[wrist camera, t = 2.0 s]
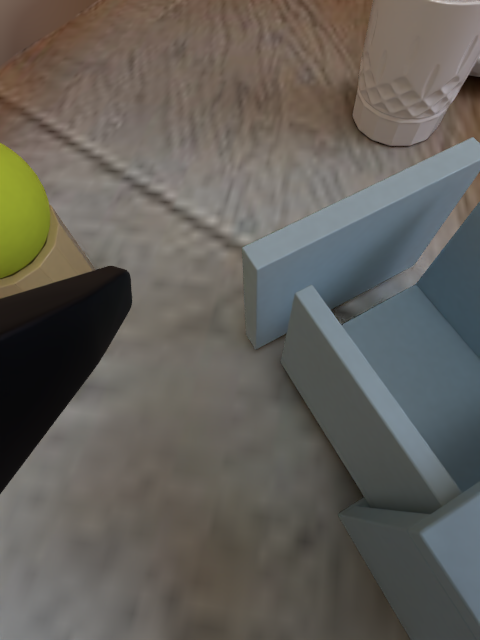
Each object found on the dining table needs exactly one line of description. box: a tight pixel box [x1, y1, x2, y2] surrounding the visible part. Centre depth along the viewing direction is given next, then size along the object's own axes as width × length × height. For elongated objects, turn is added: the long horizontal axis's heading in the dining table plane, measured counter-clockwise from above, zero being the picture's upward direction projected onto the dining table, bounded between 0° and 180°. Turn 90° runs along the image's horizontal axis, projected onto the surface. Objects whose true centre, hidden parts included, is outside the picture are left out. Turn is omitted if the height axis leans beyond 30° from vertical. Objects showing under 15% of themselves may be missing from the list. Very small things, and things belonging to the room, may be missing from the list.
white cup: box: [352, 0, 480, 146], centre depth 27 cm, size 8×8×10 cm
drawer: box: [242, 137, 480, 514], centre depth 18 cm, size 15×12×9 cm
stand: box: [0, 205, 96, 299], centre depth 22 cm, size 6×6×7 cm
